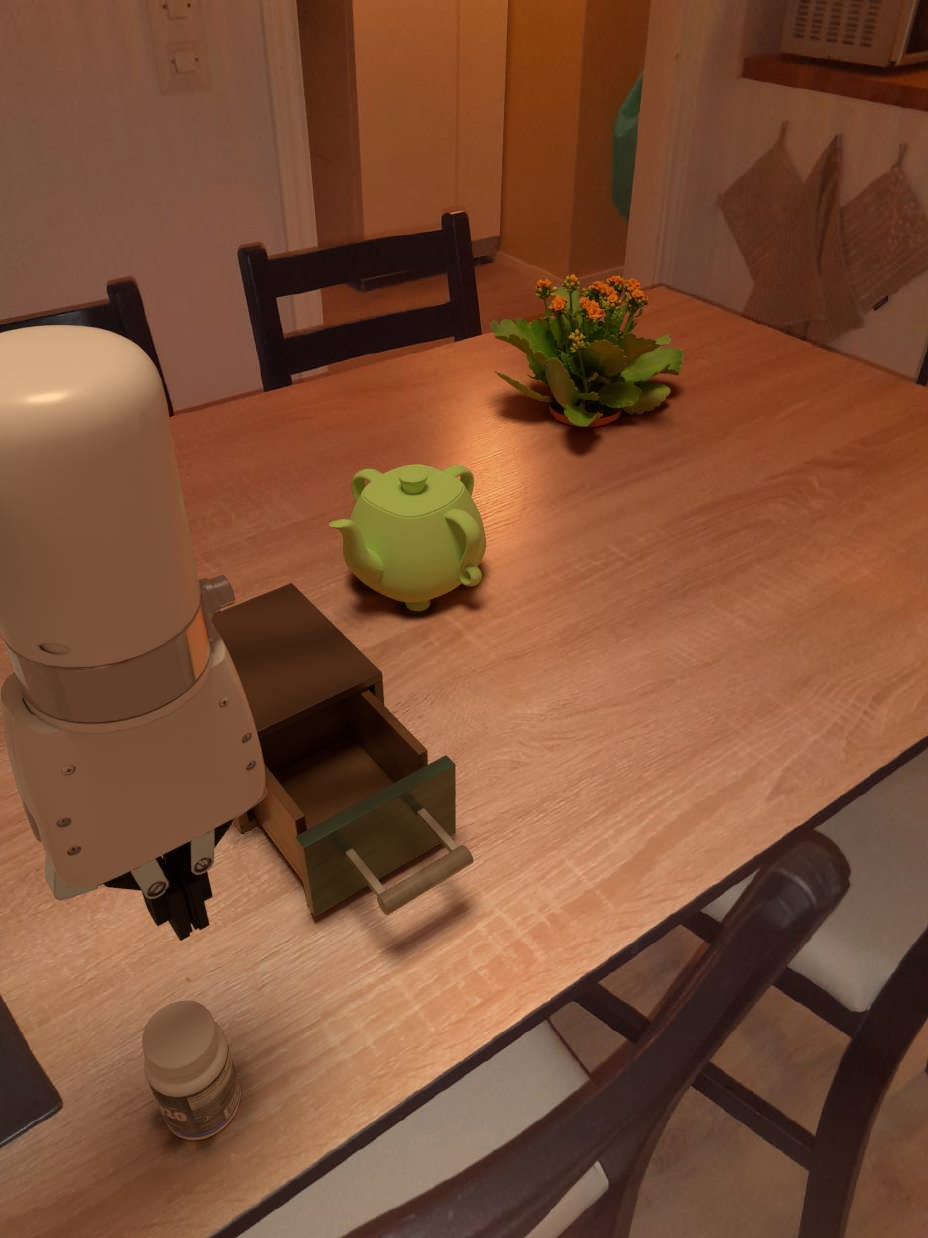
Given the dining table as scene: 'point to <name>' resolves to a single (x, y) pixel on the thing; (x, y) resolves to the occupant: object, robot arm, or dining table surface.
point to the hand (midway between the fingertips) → (182, 914)
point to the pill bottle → (190, 1070)
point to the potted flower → (591, 352)
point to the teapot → (414, 532)
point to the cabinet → (290, 662)
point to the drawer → (358, 804)
